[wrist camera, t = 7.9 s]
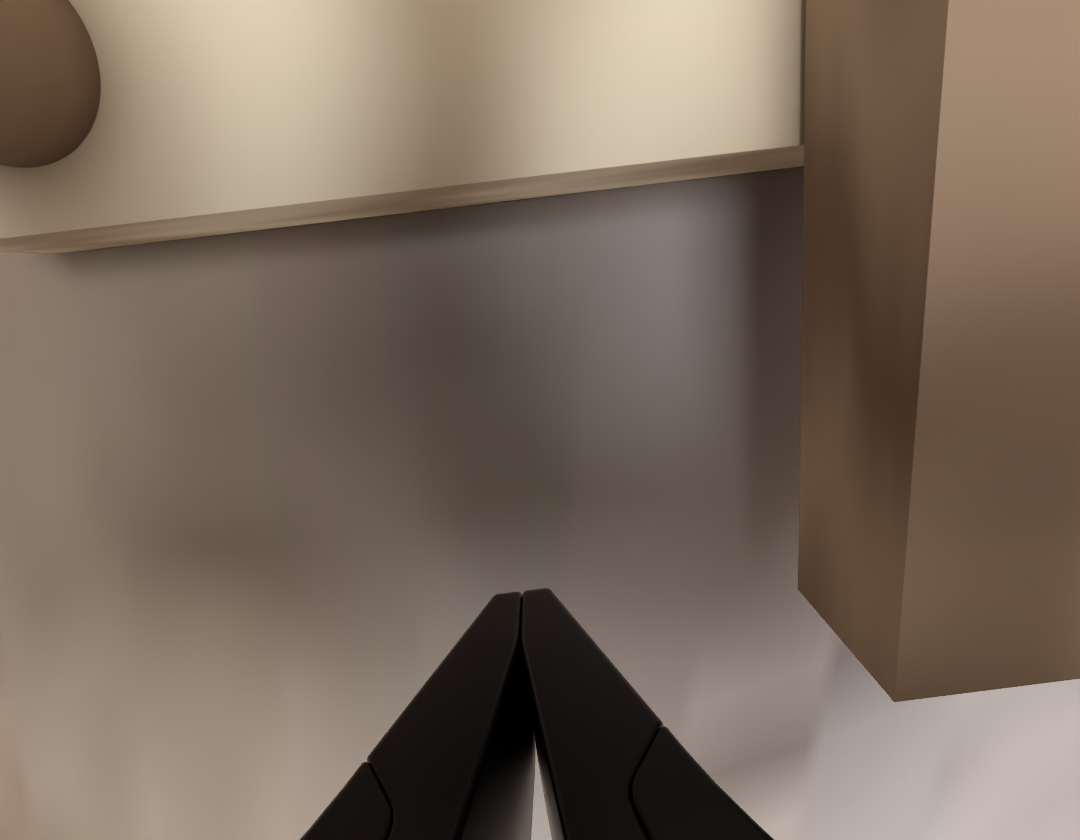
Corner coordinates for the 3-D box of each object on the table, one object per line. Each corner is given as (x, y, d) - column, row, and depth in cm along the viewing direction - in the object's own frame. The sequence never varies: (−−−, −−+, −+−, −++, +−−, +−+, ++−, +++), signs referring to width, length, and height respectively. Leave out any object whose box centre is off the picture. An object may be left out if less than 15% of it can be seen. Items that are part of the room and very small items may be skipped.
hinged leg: (807, -136, 8) (977, -375, 5) (1013, -164, 8) (1305, -418, 5) (797, 589, 11) (894, 702, 8) (940, 571, 11) (1086, 678, 8)
